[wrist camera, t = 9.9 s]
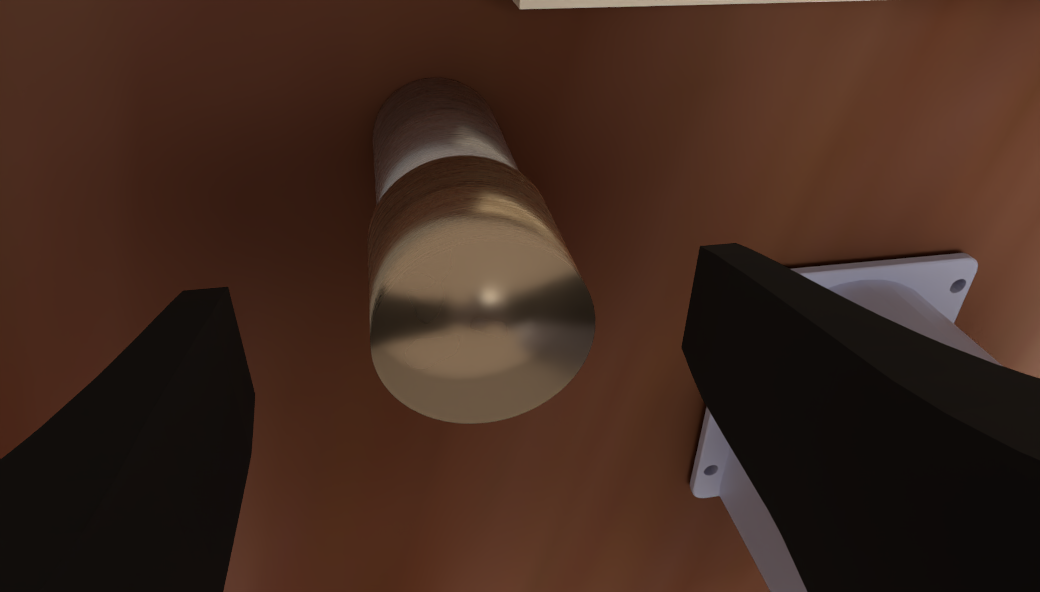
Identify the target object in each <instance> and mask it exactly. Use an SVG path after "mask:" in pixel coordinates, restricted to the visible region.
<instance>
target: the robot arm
mask: <svg viewBox="0 0 1040 592" xmlns="http://www.w3.org/2000/svg"><path fill="white" fill-rule="evenodd" d="M977 268H978V263H977V261H976V260H975V259H974V258H972V257H971V256H970V255H968V254H967V253H956V254H945V255H934V256H923V257H912V258H902V259H891V260H880V261H869V262H858V263H847V264H836V265H825V266H815V267H804V268H793V269H789V268H787V267H785V266H783V265H781V264H780V263H778V262H776V261H774V260H772V259H770V258H768V257H766V256H764V255H762V254H760V253H758V252H756V251H753V250H751V249H749V248H747V247H744V246H742V245H739V244H737V243H731V244H719V245H708V246H700V249H699V255H698V260H697V265H696V271H695V276H694V282H693V287H692V293H691V298H690V304H689V309H688V315H687V320H686V326H685V331H684V336H683V342H682V350H683V352H684V355H685V358H686V360H687V363H688V365H689V368H690V371H691V373H692V376H693V378H694V380H695V383H696V385H697V387H698V390H699V392H700V394H701V397H702V399H703V401H704V402H705V404H706V406H707V408H706V412H705V417H704V421H703V426H702V430H701V435H700V439H699V444H698V449H697V453H696V458H695V462H694V467H693V471H692V476H691V480H690V489H691V491H692V493H693V494H694V496H695V497H698V498H708V497H715V496H720V498H721V499H722V501H723V503H724V505H725V507H726V509H727V511H728V513H729V514H730V516H731V518H732V520H733V522H734V524H735V526H736V528H737V530H738V531H739V533H740V535H741V537H742V539H743V541H744V543H745V545H746V547H747V548H748V550H749V552H750V554H751V556H752V558H753V560H754V562H755V563H756V565H757V567H758V569H759V571H760V573H761V575H762V577H763V579H764V580H765V582H766V584H767V586H768V588H769V590H770V592H1040V379H1039V378H1036V377H1033V376H1030V375H1027V374H1023V373H1021V372H1018V371H1015V370H1012V369H1009V368H1006V367H1003V366H1002V365H1001V364H1000V363H999V362H997V361H996V360H995V359H994V358H993V357H992V356H990V355H989V354H988V353H987V352H986V351H985V350H984V349H982V348H981V347H980V346H979V345H978V344H977V343H975V342H974V341H973V340H972V339H971V338H970V337H968V336H967V335H966V334H965V333H964V332H963V331H961V330H960V329H959V328H958V327H957V326H956V325H955V324H954V322H955V319H956V317H957V315H958V313H959V310H960V308H961V306H962V303H963V301H964V299H965V297H966V294H967V292H968V290H969V288H970V285H971V283H972V281H973V278H974V276H975V274H976V272H977ZM254 405H255V392H254V388H253V384H252V380H251V376H250V373H249V369H248V365H247V361H246V357H245V353H244V349H243V345H242V341H241V337H240V333H239V329H238V325H237V321H236V317H235V313H234V309H233V305H232V301H231V297H230V293H229V289H228V287H222V288H210V289H198V290H187V291H182V292H181V293H180V294H179V295H178V296H177V297H176V298H175V299H174V300H173V301H172V302H171V303H170V304H169V305H168V306H167V307H166V308H165V309H164V310H163V311H162V312H161V313H160V314H159V315H158V316H157V317H156V318H155V319H154V320H153V321H152V322H151V323H150V324H149V325H148V327H147V328H146V329H145V330H144V331H143V332H142V333H141V334H140V335H139V336H138V337H137V338H136V339H135V340H134V341H133V342H132V343H131V344H130V345H129V346H128V347H127V348H126V349H125V350H124V351H123V352H122V353H121V354H120V355H119V356H118V357H117V358H116V359H115V360H114V361H113V362H112V363H111V364H110V365H109V366H108V367H107V368H106V369H104V370H103V371H102V372H101V373H100V374H99V375H98V376H97V377H96V378H95V379H94V380H93V381H92V382H91V383H90V384H88V385H87V386H86V387H85V388H84V389H83V390H82V391H81V392H80V393H78V394H77V395H76V396H75V397H74V398H73V399H72V400H71V401H69V402H68V403H67V404H66V405H65V406H64V407H63V408H62V409H61V410H59V411H58V412H57V413H56V414H55V415H54V416H53V417H52V418H50V419H49V420H48V421H47V422H46V423H45V424H44V425H43V426H42V427H40V428H39V429H38V430H37V431H35V432H34V433H33V434H32V435H31V436H29V437H28V438H27V439H26V440H25V441H23V442H22V443H21V444H20V445H18V446H17V447H16V448H15V449H13V450H12V451H11V452H9V453H8V454H7V455H6V456H4V457H3V458H2V459H0V592H223V590H224V585H225V580H226V576H227V571H228V566H229V561H230V556H231V552H232V547H233V542H234V537H235V532H236V528H237V523H238V518H239V513H240V508H241V504H242V499H243V494H244V489H245V484H246V479H247V474H248V469H249V464H250V458H251V451H252V438H253V423H254Z"/></svg>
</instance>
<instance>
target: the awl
mask: <svg viewBox="0 0 1040 592" xmlns="http://www.w3.org/2000/svg"><path fill="white" fill-rule="evenodd" d="M373 154H374V171H375V189H376V207H375V210H374V212H373V214H372V216H371V220H370V224H369V227H368V236H367V247H368V279H369V311H370V342H371V355H372V359H373V364H374V366H375V369H376V371H377V374H378V376H379V377H380V379H381V381H382V382H383V384H384V385H385V387H386V388H387V389H388V390H389V391H390V393H391V394H392V395H393V396H395V397H396V398H397V399H398V400H399V401H400V402H402V403H403V404H404V405H406V406H407V407H409V408H410V409H412V410H414V411H416V412H418V413H420V414H423V415H425V416H428V417H431V418H434V419H438V420H442V421H446V422H453V423H467V424H475V423H488V422H494V421H500V420H504V419H507V418H511V417H514V416H517V415H520V414H522V413H525V412H527V411H529V410H531V409H534V408H536V407H538V406H539V405H541V404H543V403H544V402H546V401H548V400H549V399H551V398H552V397H553V396H554V395H556V394H557V393H558V392H560V391H561V390H562V389H563V388H564V387H565V386H566V385H567V384H568V383H569V382H570V381H571V380H572V379H573V377H574V376H575V375H576V374H577V373H578V371H579V370H580V368H581V367H582V365H583V364H584V362H585V360H586V358H587V356H588V354H589V351H590V348H591V345H592V342H593V338H594V332H595V312H594V306H593V303H592V299H591V296H590V294H589V292H588V290H587V287H586V285H585V283H584V281H583V279H582V277H581V275H580V273H579V271H578V269H577V267H576V265H575V263H574V261H573V259H572V257H571V254H570V252H569V250H568V248H567V246H566V244H565V242H564V240H563V238H562V236H561V234H560V232H559V230H558V228H557V226H556V223H555V221H554V219H553V217H552V215H551V213H550V211H549V209H548V207H547V205H546V203H545V201H544V199H543V197H542V195H541V194H540V192H539V191H538V189H537V188H536V187H535V185H534V184H533V183H532V182H531V181H530V180H529V179H528V178H527V177H526V176H524V175H523V174H522V173H520V172H519V170H518V168H517V165H516V163H515V161H514V159H513V157H512V154H511V152H510V150H509V148H508V146H507V143H506V141H505V139H504V137H503V135H502V132H501V130H500V128H499V126H498V124H497V121H496V119H495V117H494V115H493V113H492V111H491V109H490V107H489V106H488V104H487V103H486V101H485V100H484V99H483V98H482V97H481V96H480V95H479V94H478V93H477V92H476V91H475V90H473V89H472V88H470V87H468V86H467V85H465V84H463V83H460V82H458V81H455V80H451V79H446V78H425V79H421V80H416V81H414V82H411V83H409V84H407V85H405V86H403V87H401V88H400V89H398V90H397V91H396V92H394V93H393V94H392V95H391V96H390V97H389V98H388V99H387V100H386V102H385V103H384V104H383V106H382V107H381V109H380V111H379V112H378V115H377V117H376V120H375V124H374V128H373Z"/></svg>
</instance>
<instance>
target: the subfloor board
mask: <svg viewBox="0 0 1040 592" xmlns="http://www.w3.org/2000/svg"><path fill="white" fill-rule="evenodd" d="M512 1H513V2H514V3H515V4H516V5H517V7H518V8H519V9H552V8H592V7H631V6H671V5H710V4H750V3H789V2H829V1H868V0H512Z"/></svg>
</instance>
